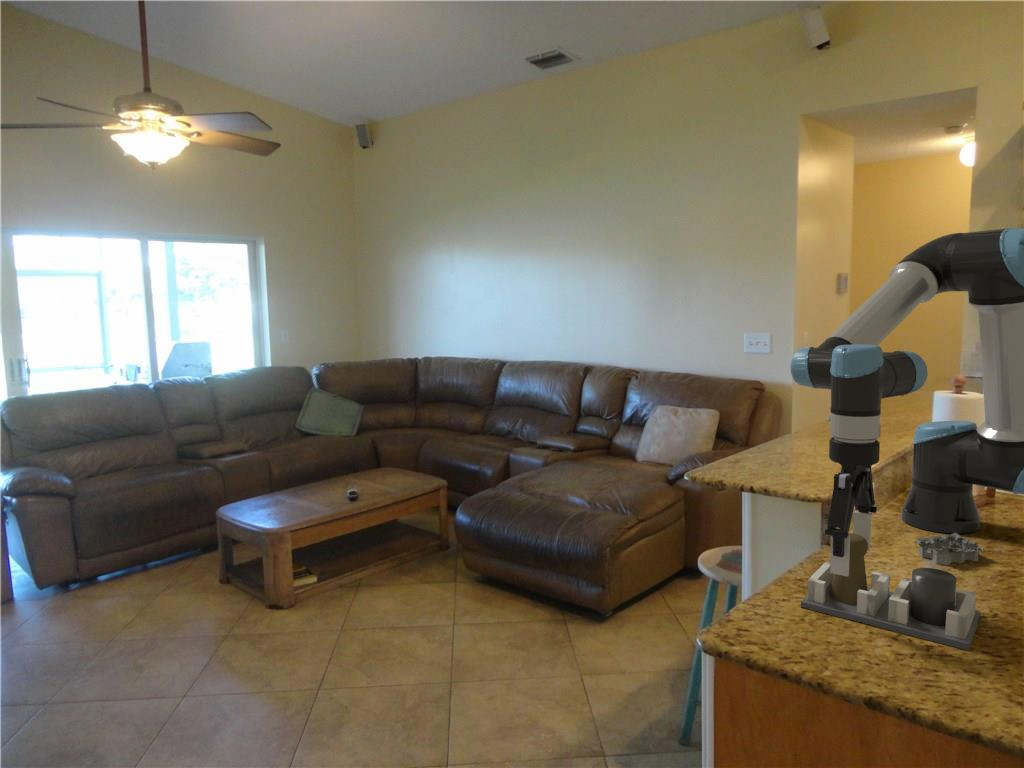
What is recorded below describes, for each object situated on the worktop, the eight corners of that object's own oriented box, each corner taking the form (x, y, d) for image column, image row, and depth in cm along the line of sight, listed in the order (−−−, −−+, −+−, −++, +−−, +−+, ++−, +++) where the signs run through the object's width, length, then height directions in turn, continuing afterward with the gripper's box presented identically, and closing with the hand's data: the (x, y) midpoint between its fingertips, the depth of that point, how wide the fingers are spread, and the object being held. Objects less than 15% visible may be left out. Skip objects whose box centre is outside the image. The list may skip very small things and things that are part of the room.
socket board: (823, 581, 128) (825, 539, 127) (980, 618, 113) (983, 570, 112) (800, 607, 118) (802, 561, 117) (968, 650, 103) (971, 598, 102)
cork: (871, 606, 116) (873, 542, 114) (831, 602, 118) (833, 539, 116) (866, 592, 121) (868, 530, 120) (828, 588, 123) (829, 527, 122)
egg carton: (939, 568, 134) (940, 547, 133) (910, 554, 141) (911, 534, 141) (987, 562, 136) (988, 542, 135) (955, 548, 143) (956, 529, 143)
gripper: (850, 423, 128) (847, 534, 131) (806, 450, 109) (804, 580, 112) (896, 427, 123) (892, 542, 126) (859, 456, 104) (854, 591, 107)
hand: (850, 560), depth 119 cm, fingers open, 13 cm apart
